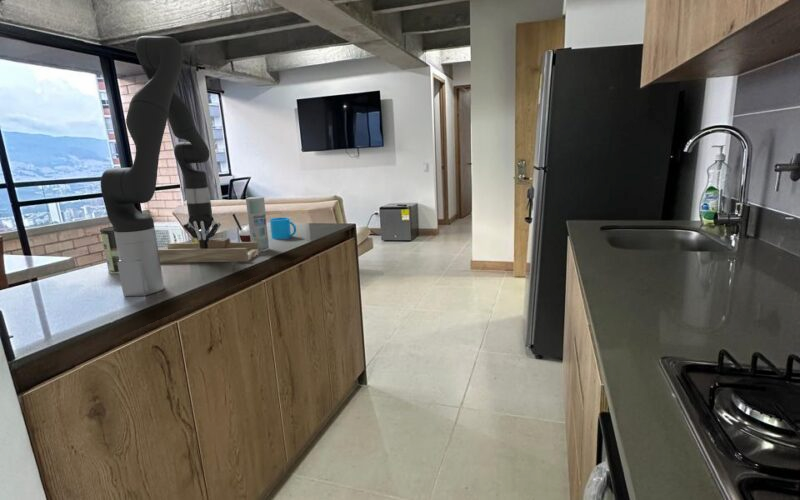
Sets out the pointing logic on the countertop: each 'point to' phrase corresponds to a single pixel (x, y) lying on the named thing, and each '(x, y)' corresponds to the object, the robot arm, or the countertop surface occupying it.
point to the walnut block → (219, 243)
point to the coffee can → (110, 249)
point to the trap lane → (208, 252)
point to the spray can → (257, 222)
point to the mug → (281, 228)
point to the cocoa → (243, 232)
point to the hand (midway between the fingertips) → (205, 249)
